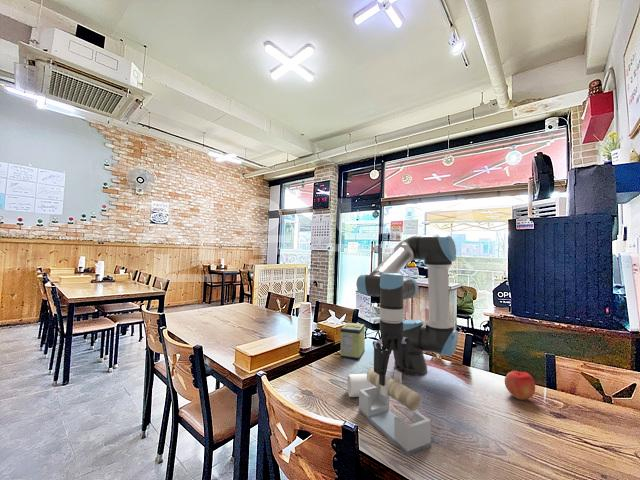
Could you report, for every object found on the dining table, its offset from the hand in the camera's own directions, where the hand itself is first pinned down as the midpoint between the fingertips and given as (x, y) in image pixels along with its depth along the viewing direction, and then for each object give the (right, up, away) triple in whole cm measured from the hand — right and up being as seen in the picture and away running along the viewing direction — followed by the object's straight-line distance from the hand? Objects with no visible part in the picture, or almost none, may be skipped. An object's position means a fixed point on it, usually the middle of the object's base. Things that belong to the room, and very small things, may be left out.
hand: (391, 393), depth 91 cm
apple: (+55, -13, +19) cm, 60 cm away
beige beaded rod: (0, +2, 0) cm, 2 cm away
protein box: (-5, -14, +64) cm, 66 cm away
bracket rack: (0, -11, 0) cm, 11 cm away
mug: (-7, -12, +22) cm, 26 cm away
